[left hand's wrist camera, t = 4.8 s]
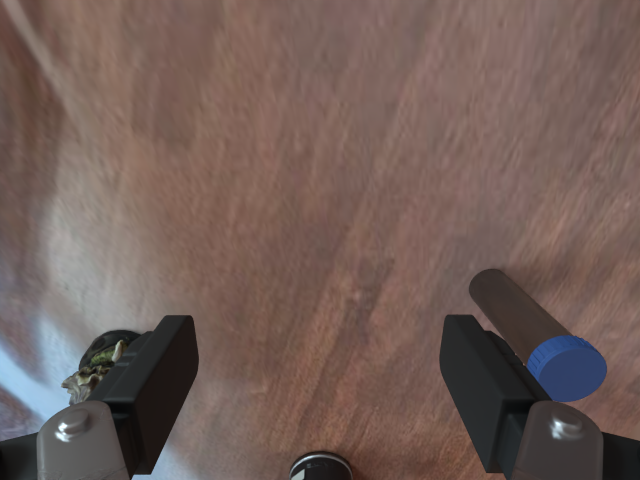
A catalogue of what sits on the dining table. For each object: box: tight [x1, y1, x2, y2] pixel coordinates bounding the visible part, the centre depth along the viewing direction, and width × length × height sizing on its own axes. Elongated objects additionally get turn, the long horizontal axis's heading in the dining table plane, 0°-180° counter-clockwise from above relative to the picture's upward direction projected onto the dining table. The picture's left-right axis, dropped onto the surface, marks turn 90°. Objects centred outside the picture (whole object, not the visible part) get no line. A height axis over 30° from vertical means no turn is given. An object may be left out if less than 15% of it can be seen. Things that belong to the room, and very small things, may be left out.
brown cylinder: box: [469, 269, 573, 367], centre depth 37 cm, size 5×5×15 cm
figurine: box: [61, 330, 141, 406], centre depth 41 cm, size 12×11×15 cm
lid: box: [527, 335, 607, 402], centre depth 30 cm, size 6×6×2 cm
